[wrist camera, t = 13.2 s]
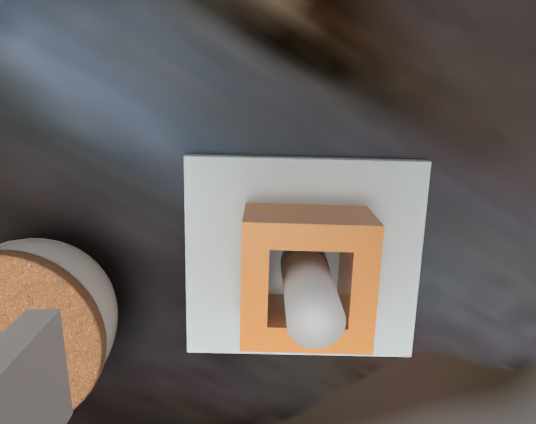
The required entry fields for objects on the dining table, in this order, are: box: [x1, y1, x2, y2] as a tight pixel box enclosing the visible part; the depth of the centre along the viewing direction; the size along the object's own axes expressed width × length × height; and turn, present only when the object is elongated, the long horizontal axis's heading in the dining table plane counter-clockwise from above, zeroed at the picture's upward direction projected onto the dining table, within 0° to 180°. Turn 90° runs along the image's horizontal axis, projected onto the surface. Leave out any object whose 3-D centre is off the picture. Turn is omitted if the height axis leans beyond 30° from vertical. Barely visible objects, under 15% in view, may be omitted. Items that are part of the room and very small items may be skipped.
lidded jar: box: [0, 238, 118, 410], centre depth 31 cm, size 11×11×9 cm
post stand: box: [184, 154, 431, 357], centre depth 30 cm, size 14×16×10 cm
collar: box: [240, 203, 384, 355], centre depth 31 cm, size 8×8×5 cm
